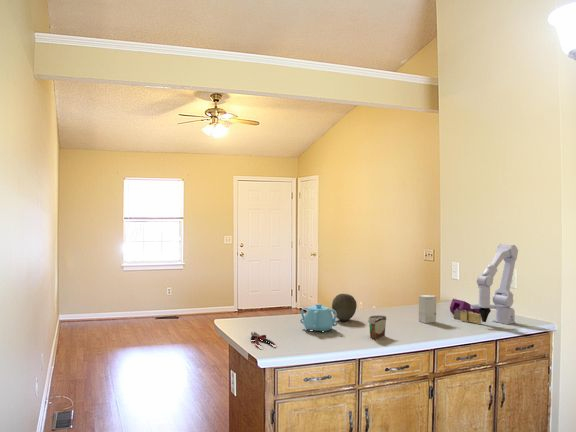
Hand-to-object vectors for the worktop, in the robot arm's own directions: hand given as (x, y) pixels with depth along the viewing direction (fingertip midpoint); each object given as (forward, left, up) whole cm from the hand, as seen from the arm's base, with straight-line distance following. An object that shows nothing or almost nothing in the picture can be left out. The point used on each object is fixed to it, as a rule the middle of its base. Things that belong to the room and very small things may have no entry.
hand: (484, 321), depth 268 cm
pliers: (+39, +121, -2) cm, 127 cm away
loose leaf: (+8, 0, -2) cm, 8 cm away
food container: (+16, +69, -2) cm, 71 cm away
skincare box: (+23, +20, -2) cm, 30 cm away
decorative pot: (+43, +83, -2) cm, 93 cm away
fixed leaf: (+15, 0, -2) cm, 15 cm away
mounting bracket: (+22, -16, -2) cm, 27 cm away
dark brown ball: (+52, +57, -2) cm, 77 cm away
